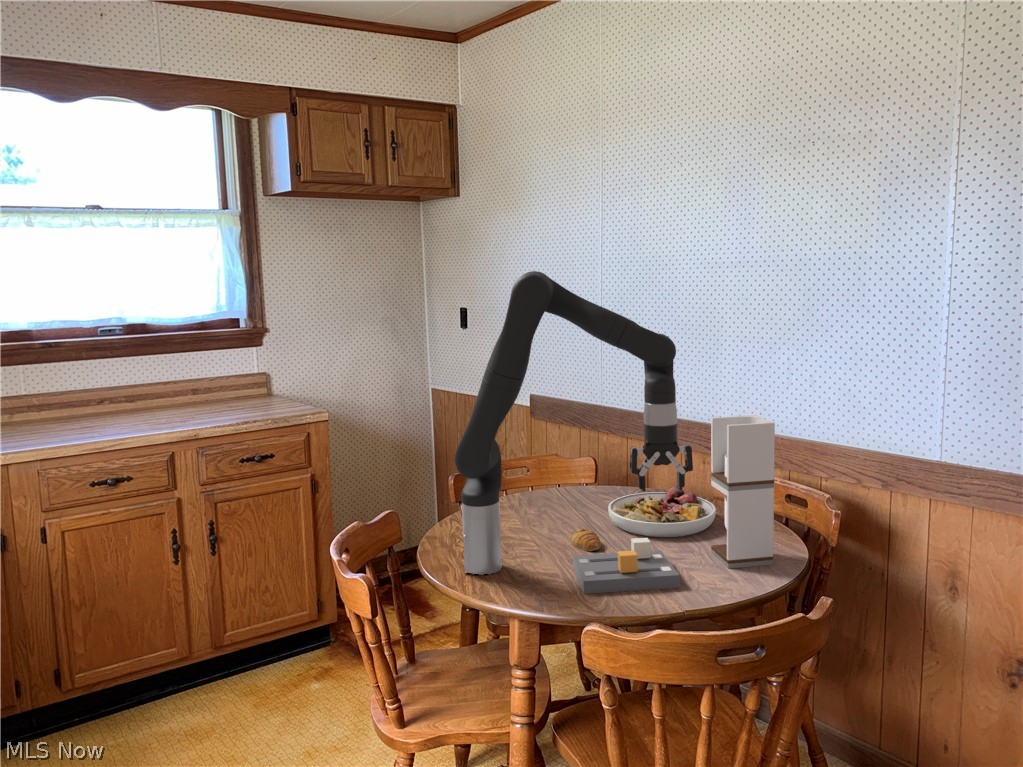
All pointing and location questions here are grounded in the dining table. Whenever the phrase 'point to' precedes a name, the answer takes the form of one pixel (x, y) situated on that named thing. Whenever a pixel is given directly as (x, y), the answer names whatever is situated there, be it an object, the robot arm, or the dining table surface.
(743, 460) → the white upright stand
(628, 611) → the dining table surface
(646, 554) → the on slider
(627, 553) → the slider
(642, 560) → the switch panel
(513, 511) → the dining table surface
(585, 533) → the pastry
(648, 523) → the bowl
